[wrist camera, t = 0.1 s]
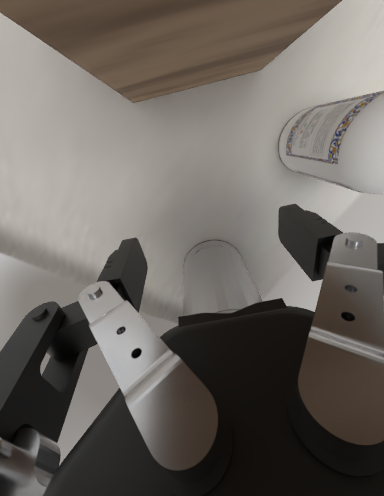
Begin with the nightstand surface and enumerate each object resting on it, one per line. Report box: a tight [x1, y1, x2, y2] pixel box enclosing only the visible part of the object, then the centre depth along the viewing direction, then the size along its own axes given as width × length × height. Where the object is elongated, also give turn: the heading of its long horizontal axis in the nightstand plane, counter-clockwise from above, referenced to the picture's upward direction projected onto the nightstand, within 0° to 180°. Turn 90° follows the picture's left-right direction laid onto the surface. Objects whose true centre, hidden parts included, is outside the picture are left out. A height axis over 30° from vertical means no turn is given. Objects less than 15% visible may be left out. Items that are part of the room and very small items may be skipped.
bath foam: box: [279, 91, 384, 194], centre depth 17 cm, size 7×7×20 cm
